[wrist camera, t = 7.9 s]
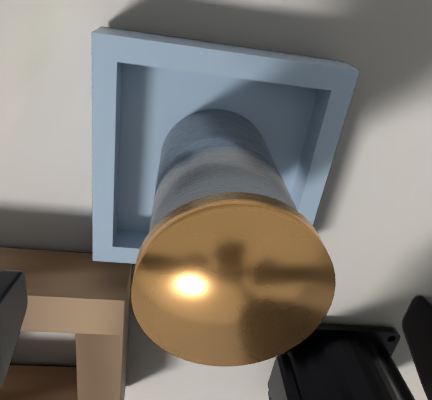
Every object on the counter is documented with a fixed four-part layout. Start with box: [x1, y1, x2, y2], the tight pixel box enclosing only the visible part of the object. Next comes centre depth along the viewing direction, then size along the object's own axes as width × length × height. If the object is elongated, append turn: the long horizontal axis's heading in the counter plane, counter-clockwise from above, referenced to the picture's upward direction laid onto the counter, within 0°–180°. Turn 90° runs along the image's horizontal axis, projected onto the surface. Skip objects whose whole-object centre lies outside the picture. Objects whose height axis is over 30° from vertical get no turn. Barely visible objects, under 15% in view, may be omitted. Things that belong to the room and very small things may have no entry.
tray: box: [92, 27, 360, 264], centre depth 16 cm, size 9×9×2 cm
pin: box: [131, 109, 335, 366], centre depth 13 cm, size 5×5×8 cm
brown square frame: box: [0, 247, 132, 400], centre depth 19 cm, size 10×10×3 cm
